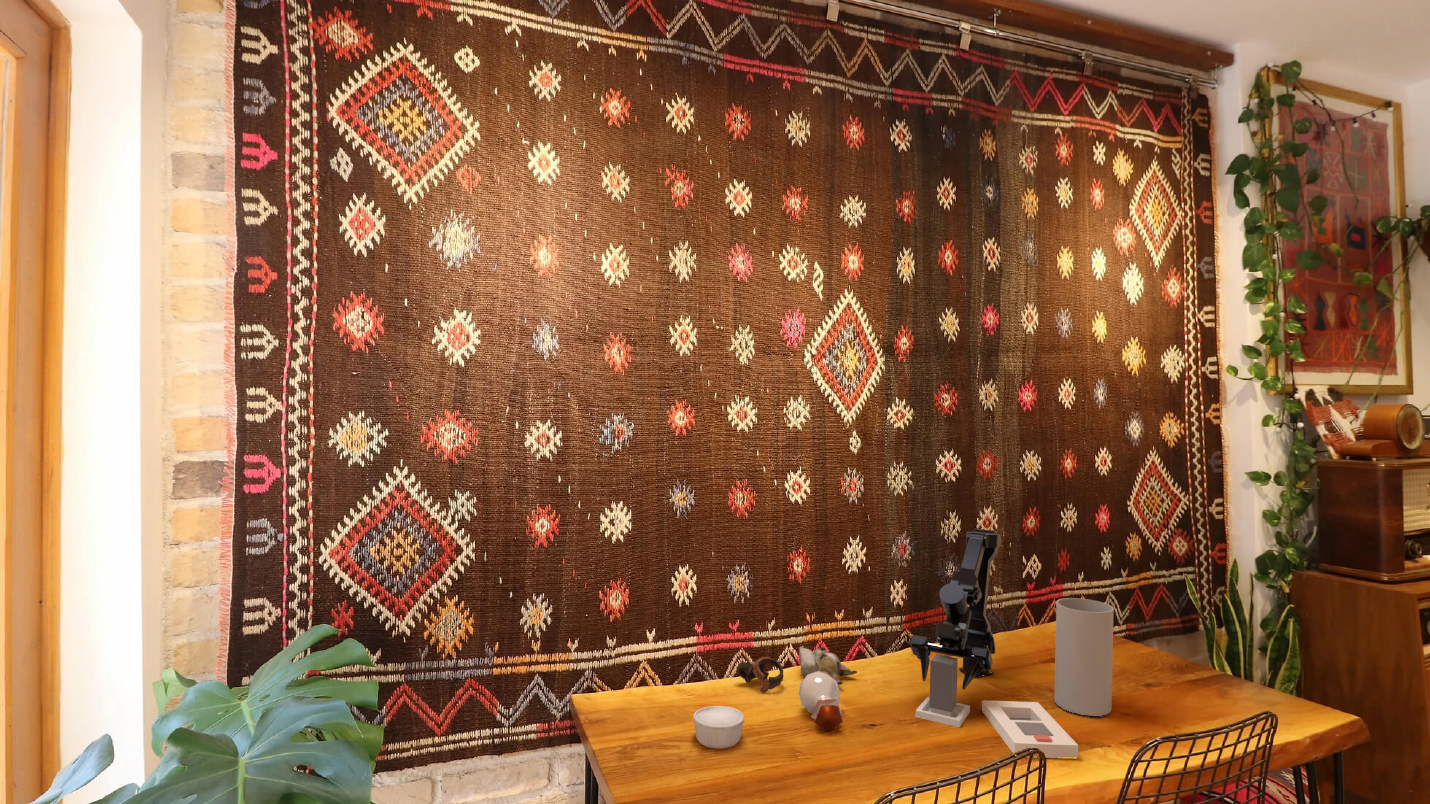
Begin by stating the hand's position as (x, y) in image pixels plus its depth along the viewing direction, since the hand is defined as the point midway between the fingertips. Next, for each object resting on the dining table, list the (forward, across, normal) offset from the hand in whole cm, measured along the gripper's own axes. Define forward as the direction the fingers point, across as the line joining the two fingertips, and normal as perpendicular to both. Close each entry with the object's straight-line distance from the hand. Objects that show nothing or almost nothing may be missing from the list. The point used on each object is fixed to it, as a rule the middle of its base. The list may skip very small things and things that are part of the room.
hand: (943, 684), depth 177 cm
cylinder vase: (-12, +27, +23) cm, 38 cm away
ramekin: (+33, -38, -22) cm, 55 cm away
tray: (+5, 0, +6) cm, 8 cm away
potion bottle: (+17, -23, -6) cm, 30 cm away
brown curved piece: (+11, -45, 0) cm, 46 cm away
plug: (+5, 0, +5) cm, 7 cm away
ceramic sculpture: (+1, -33, +10) cm, 34 cm away
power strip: (+5, +18, +6) cm, 20 cm away
